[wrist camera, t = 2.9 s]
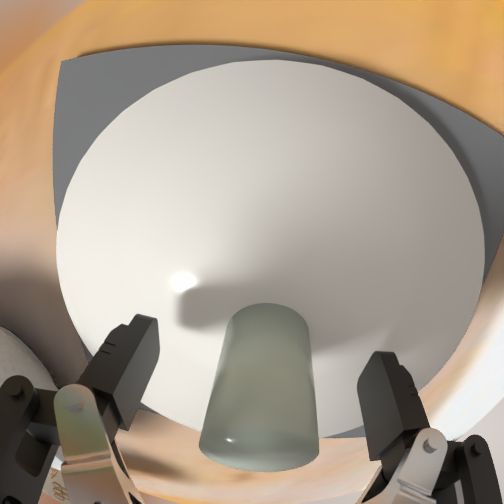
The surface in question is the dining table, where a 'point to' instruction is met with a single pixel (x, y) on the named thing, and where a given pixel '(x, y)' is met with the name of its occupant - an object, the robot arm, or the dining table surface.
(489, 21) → the dining table surface
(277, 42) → the dining table surface
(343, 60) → the dining table surface
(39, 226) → the dining table surface
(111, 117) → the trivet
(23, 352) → the cereal bowl
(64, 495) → the mug
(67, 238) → the lid
